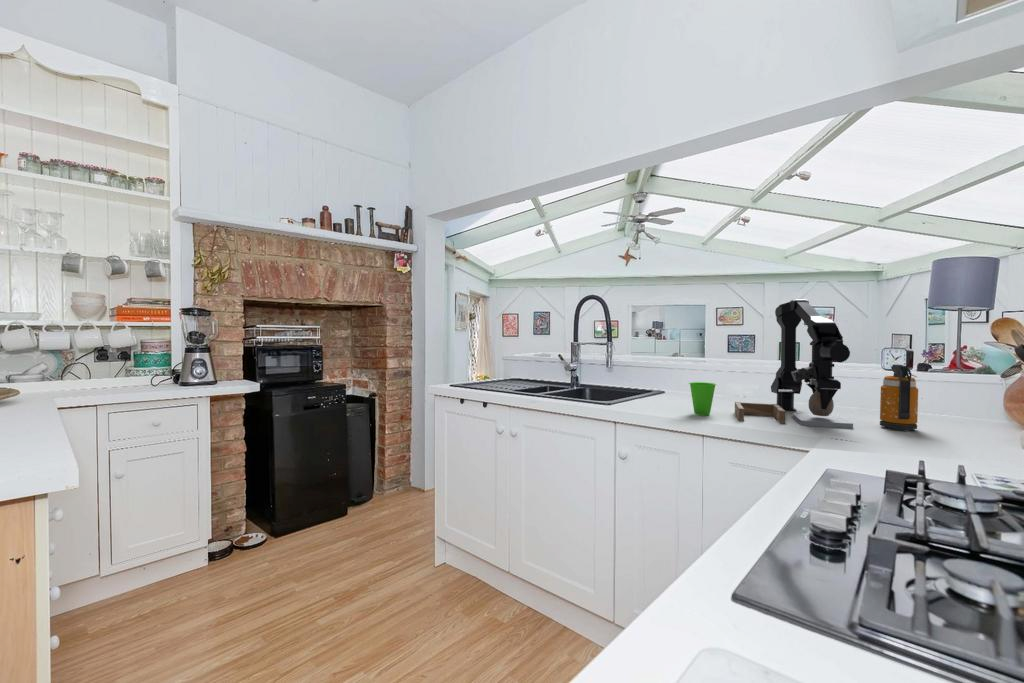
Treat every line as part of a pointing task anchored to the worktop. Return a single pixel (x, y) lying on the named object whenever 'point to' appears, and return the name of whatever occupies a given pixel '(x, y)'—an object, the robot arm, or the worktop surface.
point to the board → (822, 420)
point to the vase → (819, 405)
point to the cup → (702, 397)
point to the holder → (759, 410)
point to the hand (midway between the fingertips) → (820, 407)
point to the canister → (899, 400)
